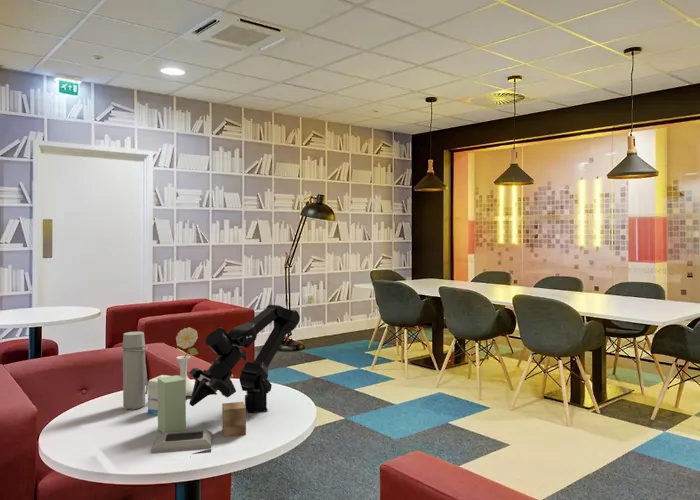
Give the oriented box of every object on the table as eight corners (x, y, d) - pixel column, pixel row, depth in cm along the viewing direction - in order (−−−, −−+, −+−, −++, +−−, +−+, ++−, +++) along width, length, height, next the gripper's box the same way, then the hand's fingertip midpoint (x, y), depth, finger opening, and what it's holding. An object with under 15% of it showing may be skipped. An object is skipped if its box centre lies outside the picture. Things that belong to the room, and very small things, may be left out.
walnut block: (243, 431, 160) (243, 401, 160) (245, 438, 154) (245, 407, 154) (222, 434, 158) (222, 403, 158) (224, 441, 152) (224, 409, 152)
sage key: (177, 424, 162) (177, 375, 162) (185, 430, 157) (185, 379, 157) (157, 429, 158) (157, 378, 158) (165, 435, 154) (165, 382, 153)
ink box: (161, 419, 171) (161, 381, 170) (146, 417, 172) (146, 380, 171) (175, 410, 179) (175, 375, 179) (161, 409, 180) (161, 374, 180)
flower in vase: (160, 396, 194) (159, 327, 194) (185, 388, 204) (184, 322, 203) (185, 402, 188) (184, 330, 187) (209, 394, 197) (209, 326, 197)
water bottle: (117, 408, 180) (116, 334, 180) (134, 402, 187) (134, 330, 187) (138, 412, 177) (138, 336, 176) (155, 405, 184) (155, 332, 183)
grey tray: (156, 431, 150) (212, 427, 154) (156, 445, 151) (212, 440, 154) (151, 444, 141) (211, 440, 144) (151, 458, 141) (211, 454, 145)
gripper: (256, 384, 164) (222, 428, 158) (228, 372, 179) (196, 412, 172) (232, 362, 159) (196, 407, 152) (205, 351, 174) (171, 392, 167)
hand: (190, 405), depth 161 cm, fingers closed
